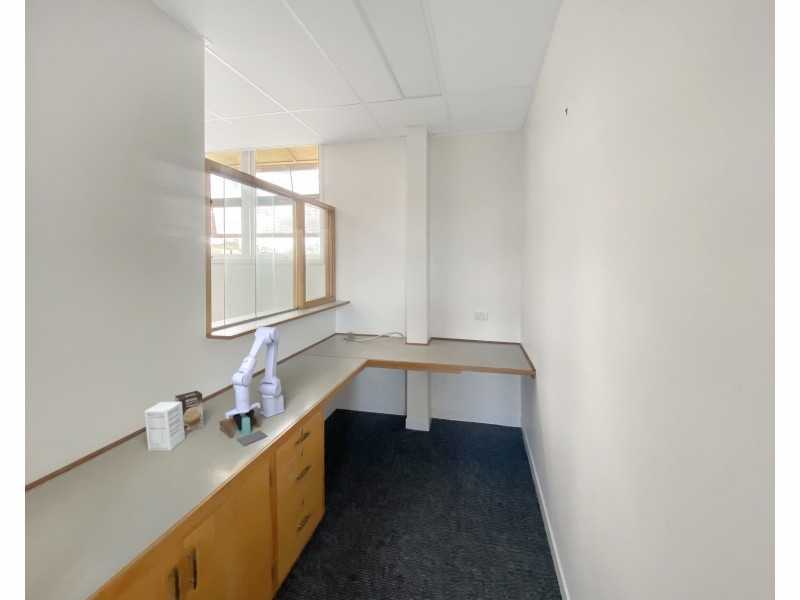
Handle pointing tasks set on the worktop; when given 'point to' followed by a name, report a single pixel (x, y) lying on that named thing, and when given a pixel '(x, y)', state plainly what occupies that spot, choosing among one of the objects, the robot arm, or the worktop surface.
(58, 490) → the worktop surface
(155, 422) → the supplement box
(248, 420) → the teal blank
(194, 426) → the coffee box
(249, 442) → the charcoal mat
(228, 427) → the walnut cubby
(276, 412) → the robot arm
